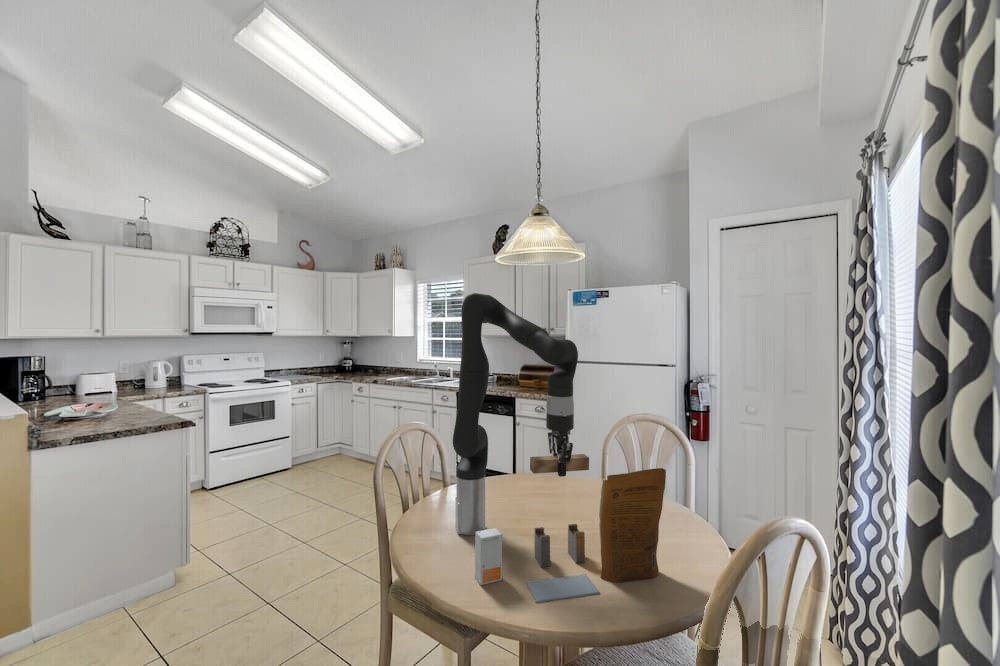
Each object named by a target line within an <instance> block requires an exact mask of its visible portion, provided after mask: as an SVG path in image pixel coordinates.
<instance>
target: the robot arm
mask: <svg viewBox="0 0 1000 666" xmlns="http://www.w3.org/2000/svg"><path fill="white" fill-rule="evenodd" d="M483 324H490V325H492V326H493V325H494V326H495V327H496V326H497V327H499V328H501V329H503V330H504V331H505V332H507V334H508V335H509V336H510V337H511V338H512V339H513V340H514V341H516V342H517V343H519V344H521V345H522V346H524V347H525V348H527V349H529V350H530V351H533V353H535V355H537V357H539V358H540V359H541V360H543V361H544V362H545V363H547V364H549V365H552V366H554V370H553V373H551V374H550V375H549V376H548V378H547V399H546V405H545V406H546V409H545V410H546V414H545V415H546V416H545V417H546V418H545V420H546V422H545V424H546V425H545V426H546V429H548V431H549V430H550V431H551V432H547V440H548V450H549V454H551V456H557V455H558V472H557V476H558V477H566V476H567V472H566V463H567V462H570V459H571V455H573V454H572V452H573V448H574V444H573V442H570V438H569V431H572V430H573V429H574V425H575V424H574V423H575V422H574V421H575V420H574V419H575V418H574V417H575V411H574V410H575V404H574V378H575V375H576V369H577V365H578V360H579V351H578V348H577V345H576V343H575V342H574V341H572V340H570V339H556V338H554V337H552V336H550V333H549V332H548V331H547V330H545V328H543V327H541V326H539V325H537V324H535V323H533V322H532V321H529V320H528V319H526V318H524V317H522V316H521V315H518V314H517V313H515V312H513V311H512V310H511V309H509V308H508V307H507V306H505V305H504V304H503V303H502V302H500V301H499V300H498V299H497V298H495V297H494V296H492V295H489V294H484V293H476V292H471V293H468V294H467V295H465V297H464V299H463V301H462V305H461V353H460V354H461V359H460V365H459V366H460V367H459V376H458V377H459V378H458V379H459V381H458V395H457V397H458V398H457V409H456V417H455V422H454V424H455V425H454V429H453V434H452V447H453V450H454V451H455V453H456V454H457V455H458V456H459V457H460V460H459V463H458V465H457V466H456V480H455V481H456V483H455V484H456V487H455V489H456V490H455V491H456V496H455V529H456V533H457V535H463V536H464V535H465V536H475V532H477V531H483V530H486V470H487V466H488V457H489V454H488V453H489V437H488V433H487V431H486V429H485V428H484V427H483V426H482V425H481V424H479V419H480V412H481V409H482V405H483V403H484V400H485V397H486V395H487V390H488V386H489V380H490V379H489V378H490V377H489V376H490V363H489V358H488V356H487V354H486V350H485V348H484V345H483V341H482V339H483V338H482V327H483Z"/></svg>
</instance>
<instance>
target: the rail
mask: <svg viewBox="0 0 1000 666" xmlns="http://www.w3.org/2000/svg"><path fill="white" fill-rule="evenodd" d="M529 470H530V471H531V472H532V474H548V473H549V474H550V473H558V455H557V456H552V455H543V456H542V455H541V456H530V457H529ZM580 471H590V457H589V456H588V455H586V453H578V454H577V453H576V454H571V459H570V462H567V463H566V473H567V472H580Z"/></svg>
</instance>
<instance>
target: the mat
mask: <svg viewBox="0 0 1000 666" xmlns="http://www.w3.org/2000/svg"><path fill="white" fill-rule="evenodd" d="M526 584H527V586H528V589H529V591H530V592H531V594H532V597H533V599H534V600H535V603H543V602H549V601H556V600H563V599H565V600H566V599H570V598H578V597H585V596H591V595H592V596H593V595H598V594H601V592H600V590H599V589H598V588H597V587H596V585H595V584H594V583H593V581H592V580H591V579H590V577H589V576H588V575H587V573H585V574H577V575H569V576H562V577H554V578H545V579H537V580H531V581H526Z"/></svg>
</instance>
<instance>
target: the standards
mask: <svg viewBox="0 0 1000 666" xmlns="http://www.w3.org/2000/svg"><path fill="white" fill-rule="evenodd" d="M585 539H586V538H585V531H584V530H582V531H580V530H579V529H578V524H577V523H571V524H568V525H567V554H568V555H569V556H570V557H571V559H572V560H573V562H574V563H575V565H576V564H584V563H585V562H586V561H585V559H586V558H585V557H586V555H585V553H586V551H585V550H586V548H585V547H586V546H585V545H586V543H585V542H586V540H585ZM534 559H535V560H536V562H537V564H538V565H539V567H540V569H545V568H551V536H550V535H549V534H546V533H545V528H544V527H534Z"/></svg>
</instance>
